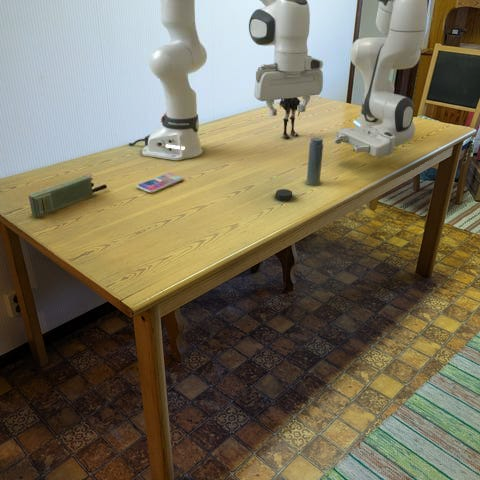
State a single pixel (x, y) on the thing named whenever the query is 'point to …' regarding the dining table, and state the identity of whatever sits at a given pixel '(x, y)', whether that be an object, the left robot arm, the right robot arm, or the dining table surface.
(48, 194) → the handheld radio
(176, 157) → the left robot arm
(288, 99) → the figurine
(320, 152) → the jar
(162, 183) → the smartphone
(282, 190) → the lid
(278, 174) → the dining table surface
